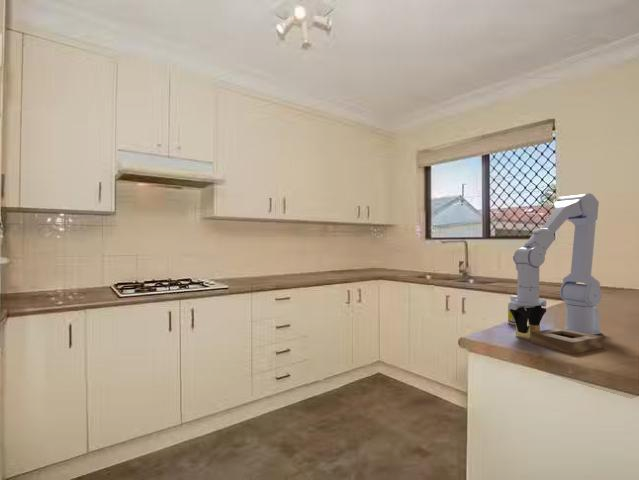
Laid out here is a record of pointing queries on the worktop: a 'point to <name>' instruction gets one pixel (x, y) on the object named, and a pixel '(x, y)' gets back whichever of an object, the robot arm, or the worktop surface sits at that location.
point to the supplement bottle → (510, 316)
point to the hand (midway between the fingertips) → (527, 331)
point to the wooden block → (528, 331)
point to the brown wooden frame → (567, 340)
